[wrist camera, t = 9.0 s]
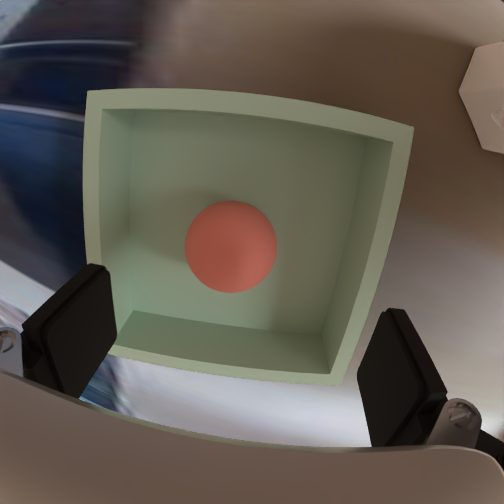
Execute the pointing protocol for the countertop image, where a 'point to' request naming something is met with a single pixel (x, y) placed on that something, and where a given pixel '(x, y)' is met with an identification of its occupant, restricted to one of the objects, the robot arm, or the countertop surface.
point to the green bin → (251, 192)
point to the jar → (486, 95)
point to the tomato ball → (230, 246)
